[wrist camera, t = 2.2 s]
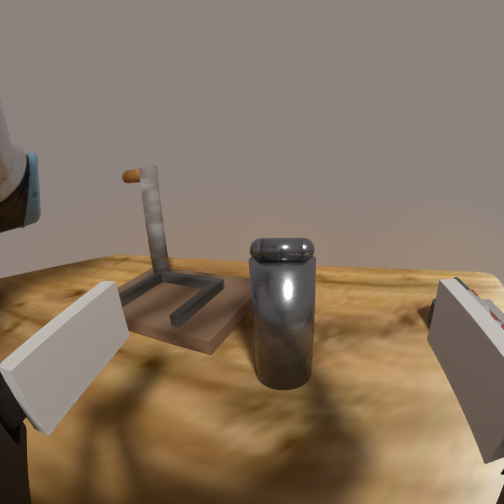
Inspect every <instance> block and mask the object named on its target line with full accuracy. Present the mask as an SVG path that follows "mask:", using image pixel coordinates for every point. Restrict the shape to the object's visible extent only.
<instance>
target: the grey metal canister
mask: <svg viewBox="0 0 504 504" xmlns="http://www.w3.org/2000/svg"><path fill="white" fill-rule="evenodd" d="M250 254H251V256H252V257H251V258H250V259H249V272H250V286H251V301H252V315H253V329H254V344H255V358H256V372H257V377H258V379H259V381H260V382H261V383H262V384H264V385H265V386H267V387H269V388H272V389H276V390H290V389H295V388H298V387H300V386H302V385H304V384H305V383H306V382H307V381H308V380H309V379H310V377H311V373H312V357H313V339H314V315H315V280H316V258H315V257H314V256H313V254H314V245H313V243H312V242H311V241H310V240H308V239H306V238H261V239H257V240H255V241H254V242H253V243H252V244H251V246H250Z"/></svg>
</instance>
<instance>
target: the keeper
mask: <svg viewBox="0 0 504 504" xmlns="http://www.w3.org/2000/svg"><path fill="white" fill-rule="evenodd" d="M122 179H123V181H124V182H125V183H135V182H141V190H142V199H143V207H144V214H145V221H146V229H147V235H148V242H149V248H150V254H151V260H152V266H153V268H151V269H150V270H148V271H146V272H144V273H143V274H141V275H139V276H137V277H136V278H134V279H132V280H130V281H129V282H127V283H125V284H123V285H122V286H120V287H118V288H117V289H118V293H119V297H120V301H121V305H122V309H123V313H124V316H125V320H126V324H127V327H128V330H130V331H133V332H136V333H139V334H142V335H145V336H148V337H151V338H154V339H157V340H161V341H164V342H167V343H171V344H174V345H177V346H181V347H184V348H188V349H191V350H195V351H199V352H202V353H206V354H210V355H212V353H213V352H214V351H215V350H216V349H217V348H218V347H219V346H220V344H221V343H222V342H223V341H224V340H225V339H226V338H227V337H228V335H229V334H230V333H231V332H232V331H233V330H234V329H235V327H236V326H237V325H238V324H239V323H240V322H241V321H242V319H243V318H244V317H245V316H246V315H247V314H248V312H249V311H250V310H251V309H252V301H251V286H250V279H249V278H241V277H233V276H225V275H217V274H209V273H201V272H194V271H186V270H179V269H171V268H170V267H169V260H168V255H167V248H166V240H165V234H164V225H163V218H162V210H161V201H160V192H159V183H158V173H157V166H152V167H145V168H140V169H136V170H128V171H126V172H124V173H123V175H122Z"/></svg>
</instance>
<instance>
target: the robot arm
mask: <svg viewBox="0 0 504 504" xmlns="http://www.w3.org/2000/svg"><path fill="white" fill-rule="evenodd" d="M40 215H41V208H40V193H39V177H38V159H37V155H36V154H30V153H27V154H26V155H25V153H24V150H23V148H22V147H21V146H20V145H19V144H18V143H16V142H14V141H12V140H11V139H10V136H9V132H8V129H7V125H6V122H5V118H4V114H3V110H2V106H1V101H0V233H1V232H5V231H8V230H12V229H16V228H19V227H21V228H24V227H25V226H27V225H29V224H33V223H36V222H37V221H38V220H39V218H40ZM129 337H130V334H129V331H128V327H127V324H126V320H125V316H124V313H123V309H122V305H121V301H120V297H119V293H118V289H117V285H116V282H112V281H102V282H100V283H99V284H98V285H96V286H95V287H94V288H92V289H91V290H90V291H88V292H87V293H86V294H85V295H83V296H82V297H81V298H79V299H78V300H77V301H75V302H74V303H73V304H72V305H70V306H69V307H68V308H66V309H65V310H64V311H63V312H61V313H60V314H59V315H58V316H56V317H55V318H54V319H53V320H51V321H50V322H49V323H48V324H46V325H45V326H44V327H43V328H41V329H40V330H39V331H38V332H37V333H35V334H34V335H33V336H32V337H31V338H29V339H28V340H27V341H26V342H25V343H23V344H22V345H21V346H20V347H19V348H18V349H16V350H15V351H14V352H13V353H12V354H11V355H9V356H8V357H7V358H6V359H5V360H4V361H2V362H1V363H0V504H31V498H30V489H29V479H28V464H27V430H26V426H25V424H24V423H23V420H24V419H25V418H26V417H27V418H28V420H29V421H30V423H31V424H32V426H33V427H34V429H36V430H38V431H40V432H42V433H44V434H46V435H48V436H49V435H50V434H51V432H52V431H53V430H54V428H55V427H56V426H57V425H58V423H59V422H60V421H61V419H62V418H63V417H64V416H65V414H66V413H67V412H68V411H69V409H70V408H71V407H72V406H73V404H74V403H75V402H76V401H77V399H78V398H79V397H80V396H81V394H82V393H83V392H84V391H85V390H86V388H87V387H88V386H89V385H90V383H91V382H92V381H93V380H94V378H95V377H96V376H97V375H98V374H99V372H100V371H101V370H102V369H103V368H104V366H105V365H106V364H107V363H108V362H109V360H110V359H111V358H112V357H113V356H114V354H115V353H116V352H117V351H118V350H119V348H120V347H121V346H122V345H123V344H124V343H125V341H126V340H127V339H128V338H129ZM427 340H428V342H429V344H430V346H431V348H432V350H433V351H434V353H435V355H436V357H437V359H438V361H439V363H440V365H441V367H442V369H443V371H444V373H445V374H446V376H447V378H448V380H449V383H450V385H451V387H452V389H453V391H454V393H455V395H456V397H457V399H458V401H459V403H460V406H461V408H462V410H463V412H464V414H465V417H466V419H467V421H468V424H469V426H470V428H471V431H472V433H473V435H474V438H475V440H476V443H477V445H478V448H479V450H480V453H481V455H482V458H483V461H484V463H485V464H487V463H489V462H492V461H495V460H498V459H500V458H503V457H504V330H503V329H502V327H501V326H500V325H499V324H498V323H497V322H496V321H495V320H494V318H493V317H492V316H491V315H490V314H489V313H488V312H487V311H486V310H485V309H484V308H483V307H482V305H481V304H480V303H479V302H478V301H477V300H476V299H475V298H474V297H473V296H472V295H471V294H470V293H469V292H468V291H467V290H466V289H465V288H464V287H463V286H462V285H461V284H460V283H459V282H458V281H457V280H456V279H440V280H439V284H438V290H437V296H436V301H435V306H434V311H433V316H432V321H431V325H430V330H429V334H428V338H427ZM501 474H502V475H504V469H503V471H502V472H501ZM496 504H504V485H503V488H502V490H501V493H500V496H499V498H498V500H497V503H496Z"/></svg>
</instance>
